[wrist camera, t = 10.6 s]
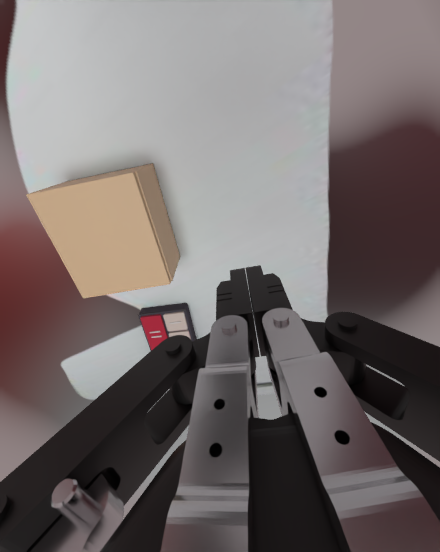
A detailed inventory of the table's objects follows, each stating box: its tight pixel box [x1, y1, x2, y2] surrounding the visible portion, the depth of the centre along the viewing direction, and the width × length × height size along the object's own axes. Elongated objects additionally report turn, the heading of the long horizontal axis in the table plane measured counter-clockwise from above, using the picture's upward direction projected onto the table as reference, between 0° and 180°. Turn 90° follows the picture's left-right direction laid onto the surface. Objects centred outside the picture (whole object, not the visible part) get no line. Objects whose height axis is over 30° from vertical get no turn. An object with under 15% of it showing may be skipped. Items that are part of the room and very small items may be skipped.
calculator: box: [139, 303, 197, 351], centre depth 61 cm, size 11×4×15 cm
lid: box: [27, 172, 171, 298], centre depth 40 cm, size 16×18×1 cm
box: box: [33, 164, 180, 281], centre depth 45 cm, size 16×18×10 cm
